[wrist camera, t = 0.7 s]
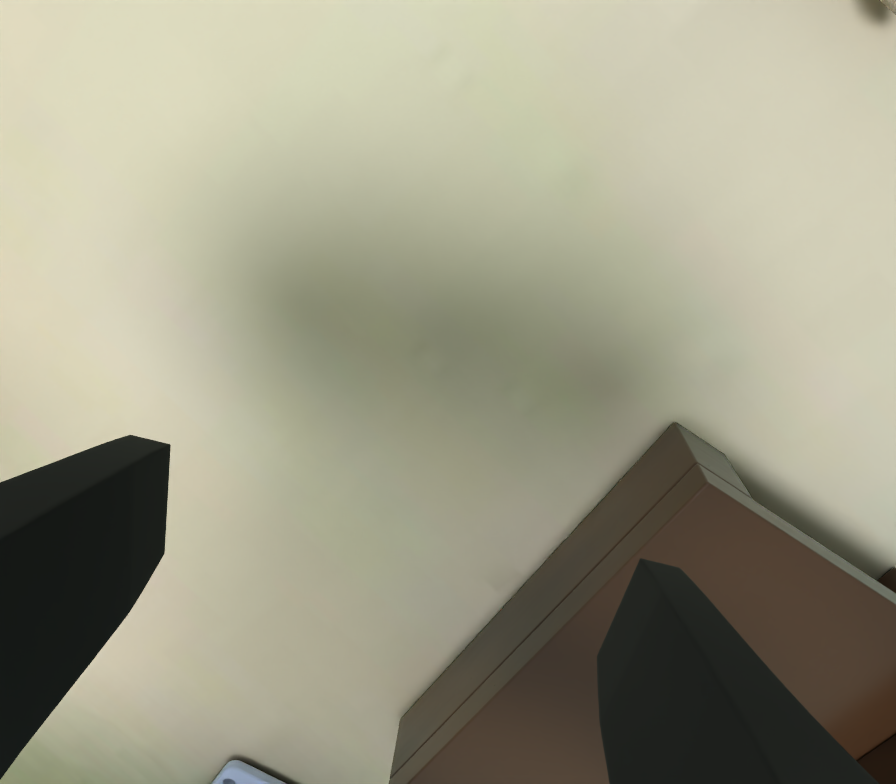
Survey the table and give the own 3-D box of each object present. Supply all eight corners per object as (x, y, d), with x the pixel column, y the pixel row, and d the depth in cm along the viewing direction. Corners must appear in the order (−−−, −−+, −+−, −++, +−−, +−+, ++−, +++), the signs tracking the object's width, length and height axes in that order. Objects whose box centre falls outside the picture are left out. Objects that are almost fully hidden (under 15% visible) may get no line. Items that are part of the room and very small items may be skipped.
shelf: (621, 836, 27) (645, 985, 22) (399, 719, 25) (375, 854, 21) (938, 596, 21) (1059, 731, 16) (673, 420, 19) (726, 516, 15)
